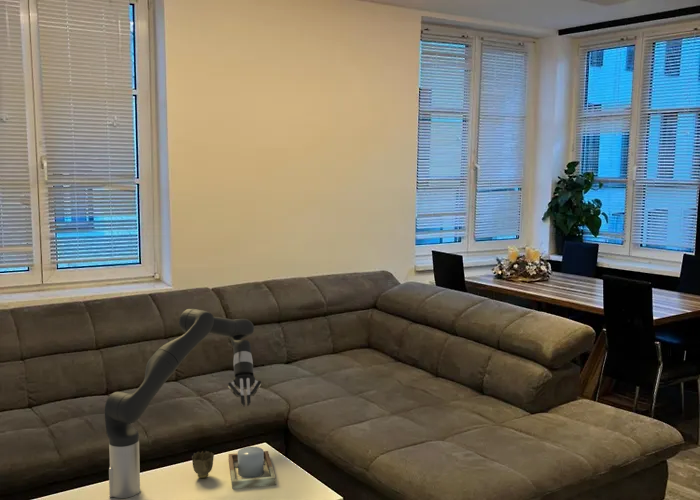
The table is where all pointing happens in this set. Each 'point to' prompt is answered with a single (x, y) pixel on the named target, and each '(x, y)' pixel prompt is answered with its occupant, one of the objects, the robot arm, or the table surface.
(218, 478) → the table surface
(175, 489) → the table surface
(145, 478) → the table surface
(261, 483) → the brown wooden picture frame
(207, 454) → the cup
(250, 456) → the slate stoneware canister
